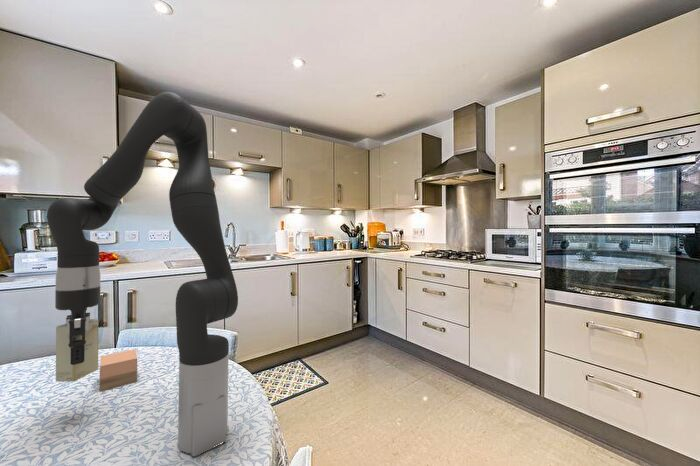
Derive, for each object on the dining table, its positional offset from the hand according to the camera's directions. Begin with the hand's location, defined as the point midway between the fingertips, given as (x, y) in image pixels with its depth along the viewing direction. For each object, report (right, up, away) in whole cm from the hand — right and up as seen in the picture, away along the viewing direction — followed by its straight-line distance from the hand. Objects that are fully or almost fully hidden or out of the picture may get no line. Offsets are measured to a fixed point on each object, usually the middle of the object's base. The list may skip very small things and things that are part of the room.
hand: (78, 357), depth 66 cm
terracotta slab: (-4, -10, +16) cm, 20 cm away
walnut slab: (-4, -14, +16) cm, 22 cm away
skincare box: (0, -4, 0) cm, 4 cm away
